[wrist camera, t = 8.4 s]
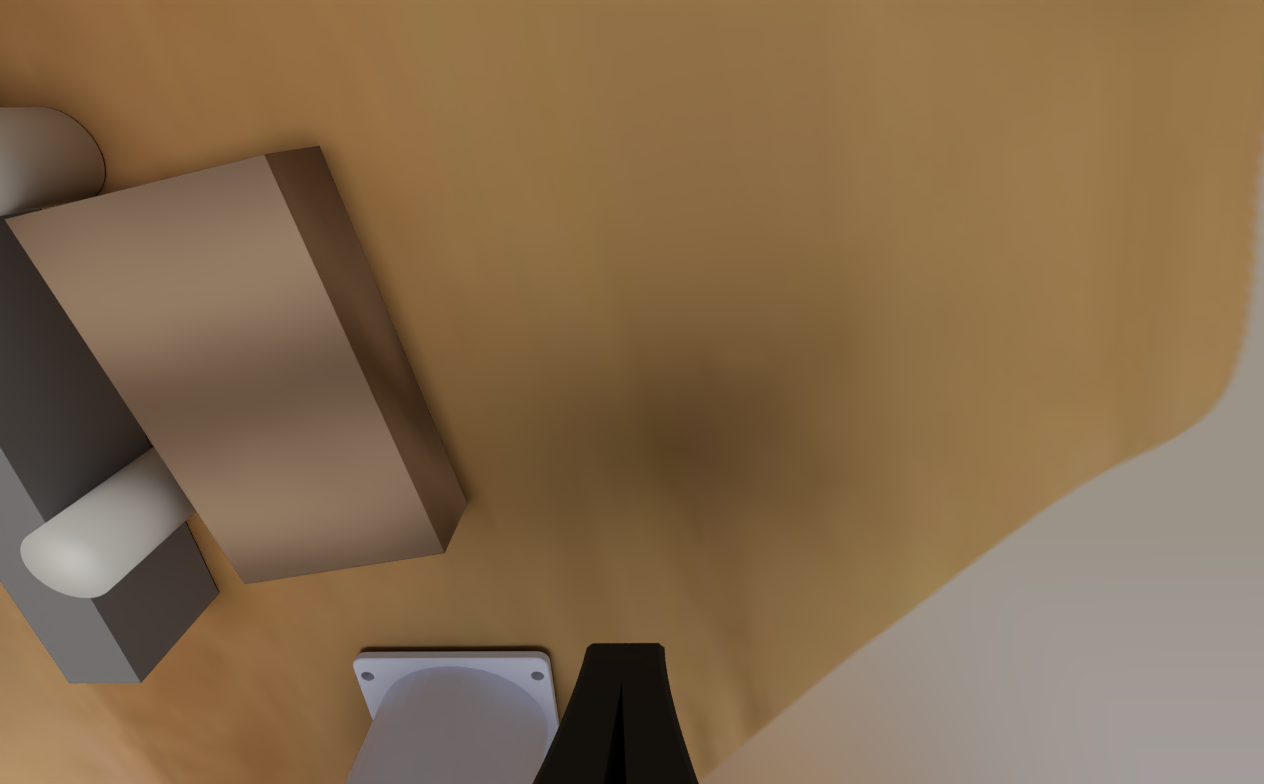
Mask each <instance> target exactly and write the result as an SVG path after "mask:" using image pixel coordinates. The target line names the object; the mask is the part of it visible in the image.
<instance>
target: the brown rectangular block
mask: <svg viewBox="0 0 1264 784" xmlns="http://www.w3.org/2000/svg"><path fill="white" fill-rule="evenodd" d="M5 221H6V222H7V224H8V225H9V227H10V228H11V230H12V231H13V233H14V235H15V236H16V238H17V239H18V241H19V242H20V244H21V245H22V247H23V248H24V250H25V251H26V253H27V254H28V256H29V257H30V259H31V260H32V262H33V263H34V265H35V266H36V268H37V269H38V271H39V273H40V274H41V276H42V277H43V279H44V280H45V282H46V283H47V285H48V286H49V288H50V289H51V291H52V292H53V294H54V295H55V297H56V298H57V300H58V301H59V303H60V304H61V306H62V307H63V309H64V310H65V312H66V314H67V315H68V317H69V318H70V320H71V321H72V323H73V324H74V326H75V327H76V329H77V330H78V332H79V333H80V335H81V336H82V338H83V339H84V341H85V342H86V344H87V345H88V347H89V348H90V350H91V352H92V353H93V355H94V356H95V358H96V359H97V361H98V362H99V364H100V365H101V367H102V368H103V370H104V371H105V373H106V374H107V376H108V377H109V379H110V380H111V382H112V383H113V385H114V386H115V388H116V390H117V391H118V393H119V394H120V396H121V397H122V399H123V400H124V402H125V403H126V405H127V406H128V408H129V409H130V411H131V412H132V414H133V415H134V417H135V418H136V420H137V421H138V423H139V424H140V426H141V428H142V429H143V431H144V432H145V434H146V435H147V437H148V438H149V440H150V441H151V443H152V444H153V446H154V447H155V449H156V450H157V452H158V453H159V455H160V456H161V458H162V459H163V461H164V462H165V464H166V465H167V467H168V469H169V470H170V472H171V473H172V475H173V476H174V478H175V479H176V481H177V482H178V484H179V485H180V487H181V488H182V490H183V491H184V493H185V494H186V496H187V497H188V499H189V500H190V502H191V503H192V505H193V507H194V508H195V510H196V511H197V513H198V514H199V516H200V517H201V519H202V520H203V522H204V523H205V525H206V526H207V528H208V529H209V531H210V532H211V534H212V535H213V537H214V538H215V540H216V541H217V543H218V545H219V546H220V548H221V549H222V551H223V552H224V554H225V555H226V557H227V558H228V560H229V561H230V563H231V564H232V566H233V567H234V569H235V570H236V572H237V573H238V575H239V576H240V578H241V579H242V581H243V582H244V584H250V583H257V582H263V581H270V580H276V579H282V578H289V577H295V576H302V575H308V574H314V573H321V572H327V571H334V570H340V569H346V568H353V567H359V566H366V565H372V564H379V563H385V562H391V561H398V560H404V559H411V558H417V557H423V556H430V555H436V554H443V553H445V551H446V549H447V547H448V544H449V542H450V540H451V538H452V536H453V533H454V531H455V529H456V527H457V524H458V522H459V520H460V518H461V516H462V513H463V511H464V509H465V507H466V504H467V502H466V500H465V497H464V495H463V492H462V490H461V487H460V485H459V483H458V480H457V478H456V475H455V473H454V471H453V468H452V466H451V463H450V461H449V458H448V456H447V454H446V451H445V449H444V446H443V444H442V441H441V439H440V437H439V434H438V432H437V429H436V427H435V425H434V422H433V420H432V417H431V415H430V412H429V410H428V408H427V405H426V403H425V400H424V398H423V396H422V393H421V391H420V388H419V386H418V383H417V381H416V379H415V376H414V374H413V371H412V369H411V366H410V364H409V362H408V359H407V357H406V354H405V352H404V350H403V347H402V345H401V342H400V340H399V337H398V335H397V333H396V330H395V328H394V325H393V323H392V321H391V318H390V316H389V313H388V311H387V308H386V306H385V304H384V301H383V299H382V296H381V294H380V291H379V289H378V287H377V284H376V282H375V279H374V277H373V275H372V272H371V270H370V267H369V265H368V262H367V260H366V258H365V255H364V253H363V250H362V248H361V246H360V243H359V241H358V238H357V236H356V233H355V231H354V229H353V226H352V224H351V221H350V219H349V216H348V214H347V212H346V209H345V207H344V204H343V202H342V200H341V197H340V195H339V192H338V190H337V187H336V185H335V183H334V180H333V178H332V175H331V173H330V171H329V168H328V166H327V163H326V161H325V158H324V156H323V154H322V151H321V149H320V146H317V147H311V148H304V149H298V150H291V151H285V152H278V153H272V154H265V155H261V156H257V157H253V158H249V159H245V160H241V161H237V162H233V163H229V164H225V165H221V166H217V167H213V168H209V169H205V170H201V171H197V172H193V173H189V174H185V175H181V176H176V177H172V178H168V179H164V180H160V181H156V182H152V183H148V184H144V185H140V186H136V187H132V188H128V189H124V190H120V191H116V192H112V193H108V194H104V195H100V196H96V197H92V198H88V199H84V200H80V201H76V202H72V203H68V204H64V205H60V206H56V207H52V208H48V209H44V210H40V211H36V212H32V213H28V214H24V215H20V216H16V217H12V218H8V219H5Z"/></svg>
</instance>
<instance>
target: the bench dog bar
mask: <svg viewBox="0 0 1264 784" xmlns="http://www.w3.org/2000/svg"><path fill="white" fill-rule="evenodd" d="M104 178H105V167H104V162H103V158H102V155H101V153H100V151H99V148H98V146H97V145H96V143H95V141H94V140H93V139H92V137H91V136H90V135H89V133H88V132H87V131H86V130H85V129H84V128H83V127H82V126H81V125H80V124H79V123H78V122H76V121H75V120H74V119H72V118H71V117H69V116H68V115H66V114H64V113H62V112H60V111H58V110H55V109H51V108H47V107H5V108H0V581H1V583H2V584H3V586H4V587H5V589H6V590H7V592H8V593H9V595H10V596H11V598H12V599H13V601H14V602H15V604H16V605H17V607H18V608H19V609H20V611H21V612H22V614H23V615H24V617H25V618H26V620H27V621H28V623H29V624H30V626H31V627H32V629H33V630H34V632H35V633H36V635H37V636H38V638H39V639H40V641H41V642H42V644H43V645H44V647H45V648H46V650H47V651H48V652H49V654H50V655H51V657H52V658H53V660H54V661H55V663H56V664H57V666H58V667H59V669H60V670H61V672H62V673H63V675H64V676H65V678H66V679H67V681H68V682H69V683H142V681H143V680H144V679H145V678H146V677H147V676H148V674H149V673H150V672H151V671H152V670H153V669H154V668H155V666H156V665H157V664H158V663H159V662H160V661H161V660H162V658H163V657H164V656H165V655H166V654H167V653H168V651H169V650H170V649H171V648H172V647H173V646H174V645H175V643H176V642H177V641H178V640H179V639H180V638H181V637H182V635H183V634H184V633H185V632H186V631H187V630H188V628H189V627H190V626H191V625H192V624H193V623H194V622H195V620H196V619H197V618H198V617H199V616H200V615H201V614H202V612H203V611H204V610H205V609H206V608H207V607H208V605H209V604H210V603H211V602H212V601H213V600H214V599H215V597H216V596H217V595H218V594H219V593H218V591H217V588H216V586H215V584H214V582H213V580H212V578H211V576H210V573H209V571H208V569H207V567H206V565H205V563H204V561H203V558H202V556H201V554H200V552H199V550H198V548H197V546H196V543H195V541H194V539H193V537H192V535H191V533H190V531H189V528H188V526H187V524H186V522H185V521H186V520H187V519H188V518H189V517H190V516H191V515H192V514H193V513H195V512H196V510H195V508H194V507H193V505H192V503H191V502H190V500H189V499H188V497H187V496H186V494H185V493H184V491H183V490H182V488H181V487H180V485H179V484H178V482H177V481H176V479H175V478H174V476H173V475H172V473H171V472H170V470H169V469H168V467H167V465H166V464H165V462H164V461H163V459H162V458H161V456H160V455H159V453H158V452H157V450H156V449H155V447H152V448H151V447H150V445H149V443H148V441H147V438H146V436H145V434H144V432H143V430H142V428H141V426H140V424H139V423H138V421H137V420H136V418H135V417H134V415H133V414H132V412H131V411H130V409H129V408H128V406H127V405H126V403H125V402H124V400H123V399H122V397H121V396H120V394H119V393H118V391H117V390H116V388H115V386H114V385H113V383H112V382H111V380H110V379H109V377H108V376H107V374H106V373H105V371H104V370H103V368H102V367H101V365H100V364H99V362H98V361H97V359H96V358H95V356H94V355H93V353H92V352H91V350H90V348H89V347H88V345H87V344H86V342H85V341H84V339H83V338H82V336H81V335H80V333H79V332H78V330H77V329H76V327H75V326H74V324H73V323H72V321H71V320H70V318H69V317H68V315H67V314H66V312H65V310H64V309H63V307H62V306H61V304H60V303H59V301H58V300H57V298H56V297H55V295H54V294H53V292H52V291H51V289H50V288H49V286H48V285H47V283H46V282H45V280H44V279H43V277H42V276H41V274H40V273H39V271H38V269H37V268H36V266H35V265H34V263H33V262H32V260H31V259H30V257H29V256H28V254H27V253H26V251H25V250H24V248H23V247H22V245H21V244H20V242H19V241H18V239H17V238H16V236H15V235H14V233H13V231H12V230H11V228H10V227H9V225H8V224H7V222H6V221H5V219H8V218H12V217H16V216H20V215H24V214H28V213H32V212H36V211H40V209H41V208H46V207H51V206H57V205H62V204H67V203H72V202H76V201H80V200H84V199H88V198H92V197H93V196H95V195H96V194H97V193H98V192H99V191H100V189H101V188H102V186H103V183H104Z"/></svg>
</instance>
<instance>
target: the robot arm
mask: <svg viewBox="0 0 1264 784" xmlns="http://www.w3.org/2000/svg"><path fill="white" fill-rule="evenodd" d="M353 668H354V671H355V673H356V676H357V679H358V682H359V684H360V687H361V690H362V693H363V696H364V698H365V701H366V704H367V707H368V709H369V712H370V715H371V718H372V724H371V726H370V728H369V730H368V732H367V735H366V737H365V739H364V741H363V744H362V746H361V748H360V750H359V753H358V755H357V757H356V759H355V762H354V764H353V766H352V768H351V770H350V773H349V775H348V777H347V779H346V782H345V784H699V783H698V780H697V778H696V775H695V772H694V769H693V766H692V763H691V760H690V757H689V754H688V751H687V748H686V745H685V741H684V738H683V735H682V732H681V729H680V725H679V722H678V718H677V715H676V711H675V707H674V703H673V699H672V695H671V690H670V686H669V681H668V675H667V669H666V662H665V649H664V647H663V646H661V645H660V644H659V643H593V644H591V645H590V646H589V647H587V649H586V653H585V657H584V661H583V664H582V667H581V670H580V673H579V676H578V679H577V682H576V685H575V688H574V690H573V693H572V696H571V698H570V701H569V703H568V706H567V708H566V711H565V714H564V716H563V718H562V721H561V723H560V725H559V718H558V711H557V704H556V698H555V691H554V684H553V678H552V671H551V664H550V659H549V657H548V656H547V655H546V654H545V653H543V652H539V651H460V652H362V653H360V654H358V655H357V657H356V659H355V661H354V663H353Z"/></svg>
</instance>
